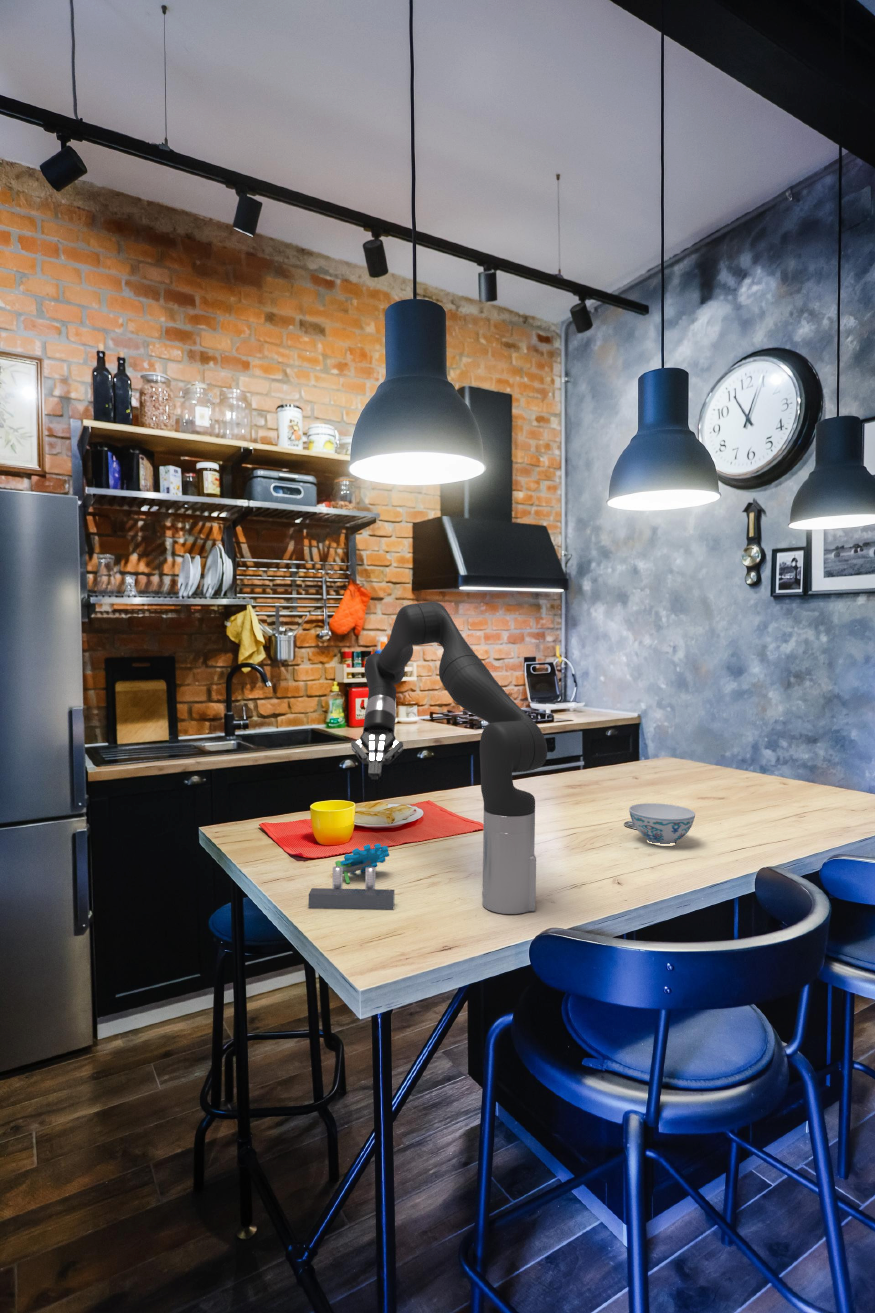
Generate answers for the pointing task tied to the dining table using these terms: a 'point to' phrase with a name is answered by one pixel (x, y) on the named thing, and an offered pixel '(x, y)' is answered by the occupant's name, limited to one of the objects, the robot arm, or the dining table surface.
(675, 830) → the chinaware
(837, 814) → the dining table surface
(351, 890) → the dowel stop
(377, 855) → the blue bumpy piece
